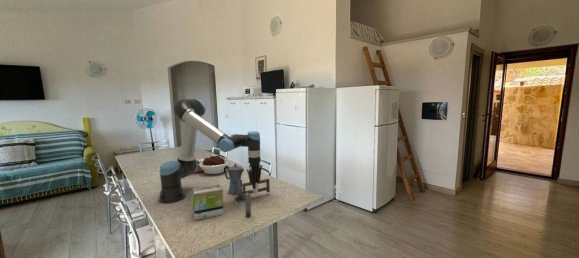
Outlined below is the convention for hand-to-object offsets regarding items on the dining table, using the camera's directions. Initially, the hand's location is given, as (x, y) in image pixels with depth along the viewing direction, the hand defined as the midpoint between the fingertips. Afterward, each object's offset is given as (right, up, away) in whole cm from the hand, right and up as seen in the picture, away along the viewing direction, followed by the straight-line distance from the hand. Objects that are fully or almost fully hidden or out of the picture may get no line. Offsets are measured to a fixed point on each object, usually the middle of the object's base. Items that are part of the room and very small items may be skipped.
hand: (255, 192), depth 157 cm
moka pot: (-16, -3, +12) cm, 20 cm away
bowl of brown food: (-43, +2, +57) cm, 72 cm away
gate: (0, -2, +4) cm, 5 cm away
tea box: (-24, -7, -19) cm, 31 cm away
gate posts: (-5, -6, -11) cm, 13 cm away
